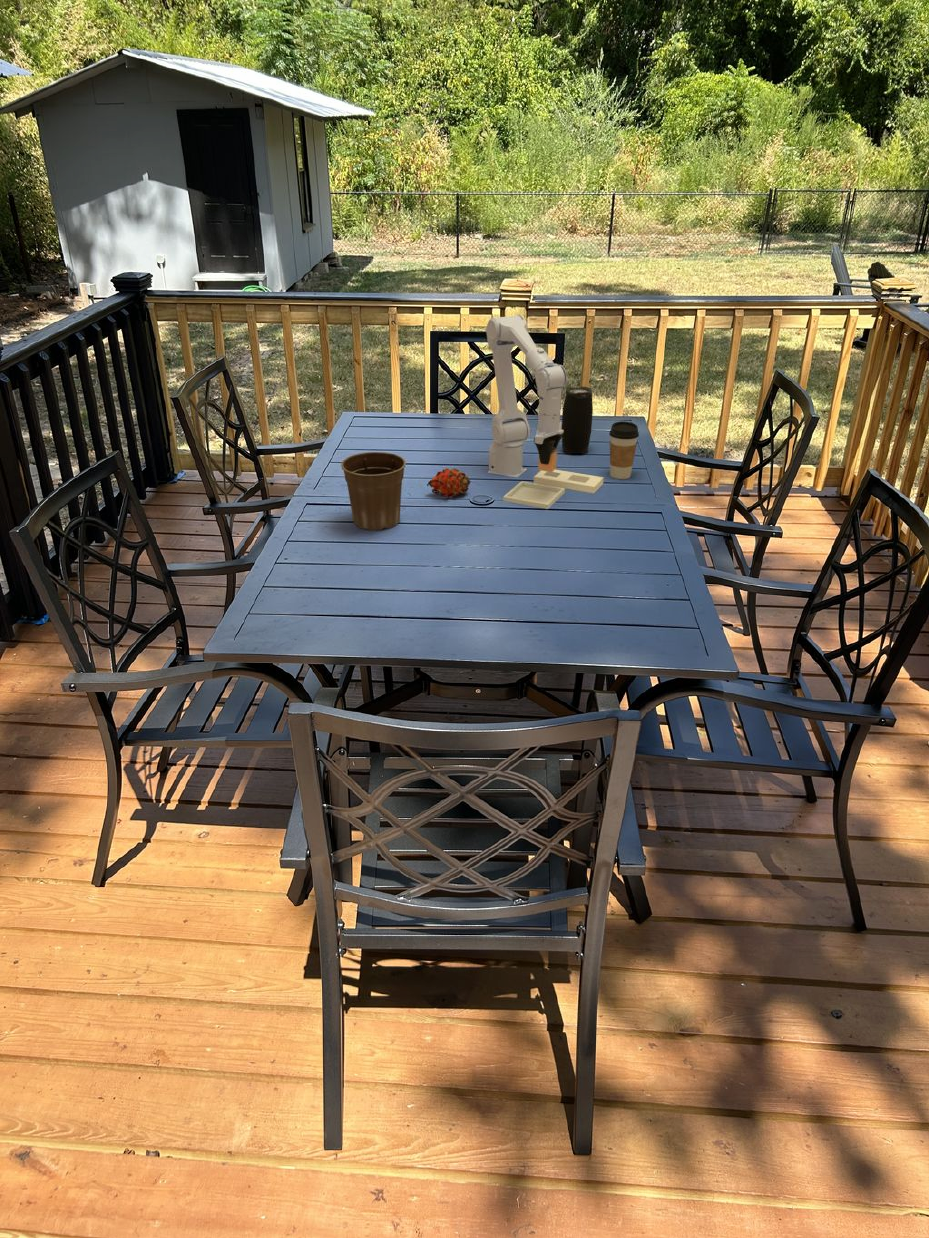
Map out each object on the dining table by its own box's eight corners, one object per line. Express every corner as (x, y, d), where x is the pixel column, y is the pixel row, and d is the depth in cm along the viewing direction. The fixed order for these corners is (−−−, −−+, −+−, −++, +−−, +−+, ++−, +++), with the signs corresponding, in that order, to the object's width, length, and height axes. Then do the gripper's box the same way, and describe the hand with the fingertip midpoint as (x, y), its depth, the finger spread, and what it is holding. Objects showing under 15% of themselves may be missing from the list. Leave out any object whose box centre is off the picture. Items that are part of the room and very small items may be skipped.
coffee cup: (633, 471, 267) (638, 421, 260) (635, 481, 260) (640, 430, 253) (605, 470, 268) (609, 420, 261) (606, 480, 261) (610, 429, 253)
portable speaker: (554, 451, 282) (558, 389, 273) (575, 445, 288) (579, 383, 278) (575, 458, 277) (579, 395, 267) (595, 451, 282) (600, 389, 272)
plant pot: (398, 537, 227) (396, 476, 219) (336, 531, 230) (332, 471, 222) (414, 512, 241) (412, 454, 233) (356, 507, 243) (352, 449, 235)
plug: (538, 469, 246) (539, 448, 243) (542, 466, 249) (543, 445, 246) (551, 472, 245) (553, 450, 242) (556, 468, 247) (557, 447, 244)
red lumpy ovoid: (473, 502, 250) (431, 508, 252) (471, 476, 254) (429, 482, 255) (469, 486, 243) (425, 491, 244) (467, 459, 246) (424, 465, 247)
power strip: (533, 484, 258) (534, 476, 256) (543, 475, 264) (544, 467, 263) (593, 495, 251) (594, 486, 250) (602, 485, 257) (603, 477, 256)
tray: (503, 502, 246) (503, 496, 245) (521, 487, 256) (521, 481, 255) (547, 511, 241) (547, 504, 240) (564, 494, 251) (565, 488, 250)
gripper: (553, 422, 232) (550, 472, 239) (573, 407, 243) (570, 455, 250) (528, 418, 235) (526, 468, 241) (549, 404, 246) (546, 451, 253)
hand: (547, 461), depth 246 cm, fingers closed on plug, 3 cm apart
